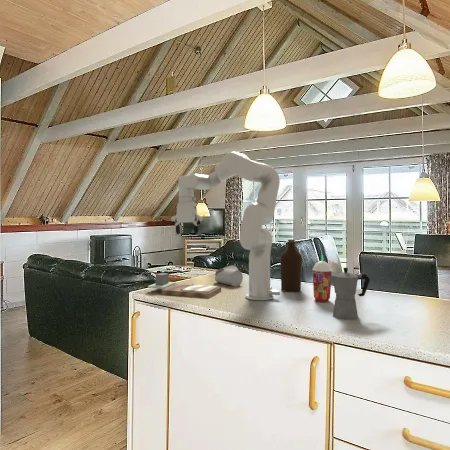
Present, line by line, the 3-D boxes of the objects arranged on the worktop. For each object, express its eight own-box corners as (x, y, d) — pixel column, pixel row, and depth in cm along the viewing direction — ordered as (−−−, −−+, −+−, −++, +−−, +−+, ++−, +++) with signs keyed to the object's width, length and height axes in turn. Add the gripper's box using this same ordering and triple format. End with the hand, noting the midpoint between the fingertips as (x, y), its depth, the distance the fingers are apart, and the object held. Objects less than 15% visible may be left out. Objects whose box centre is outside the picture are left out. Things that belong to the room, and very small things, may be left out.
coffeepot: (330, 319, 133) (331, 269, 132) (323, 312, 142) (324, 265, 142) (374, 319, 133) (374, 269, 132) (364, 312, 142) (365, 265, 142)
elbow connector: (204, 279, 207) (227, 285, 191) (208, 261, 208) (230, 264, 192) (229, 283, 217) (252, 288, 201) (232, 265, 218) (255, 269, 203)
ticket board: (221, 291, 182) (221, 285, 182) (209, 298, 167) (209, 291, 167) (176, 287, 190) (176, 282, 190) (161, 294, 175) (161, 288, 174)
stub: (175, 283, 188) (175, 272, 188) (163, 288, 176) (163, 276, 176) (160, 282, 191) (160, 271, 191) (147, 287, 179) (147, 275, 178)
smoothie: (331, 299, 165) (332, 254, 164) (331, 303, 157) (332, 256, 156) (312, 298, 167) (312, 253, 167) (311, 302, 159) (311, 255, 158)
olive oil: (286, 293, 178) (286, 240, 177) (276, 288, 188) (276, 239, 187) (305, 291, 181) (306, 240, 180) (295, 287, 191) (295, 238, 190)
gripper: (204, 199, 191) (205, 233, 191) (173, 201, 196) (174, 233, 196) (199, 199, 183) (200, 234, 184) (167, 200, 188) (168, 234, 189)
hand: (187, 233), depth 190 cm, fingers open, 9 cm apart
